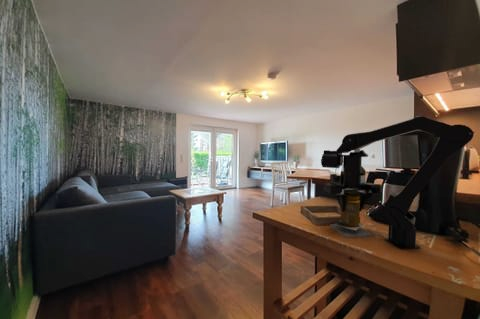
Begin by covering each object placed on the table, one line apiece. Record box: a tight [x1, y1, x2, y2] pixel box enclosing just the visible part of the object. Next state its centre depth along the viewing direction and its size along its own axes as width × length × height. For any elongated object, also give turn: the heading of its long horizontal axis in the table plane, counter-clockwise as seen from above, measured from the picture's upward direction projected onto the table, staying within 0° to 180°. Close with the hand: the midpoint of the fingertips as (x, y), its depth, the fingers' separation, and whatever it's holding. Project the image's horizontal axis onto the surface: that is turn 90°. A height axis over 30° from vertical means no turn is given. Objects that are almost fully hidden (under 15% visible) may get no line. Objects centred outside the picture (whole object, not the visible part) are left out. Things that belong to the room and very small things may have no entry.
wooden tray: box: [300, 204, 361, 226], centre depth 87 cm, size 16×18×3 cm
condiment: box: [335, 191, 363, 230], centre depth 73 cm, size 7×8×12 cm
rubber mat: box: [329, 224, 374, 238], centre depth 74 cm, size 10×10×1 cm
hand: (350, 211), depth 73 cm, fingers closed on condiment, 6 cm apart
